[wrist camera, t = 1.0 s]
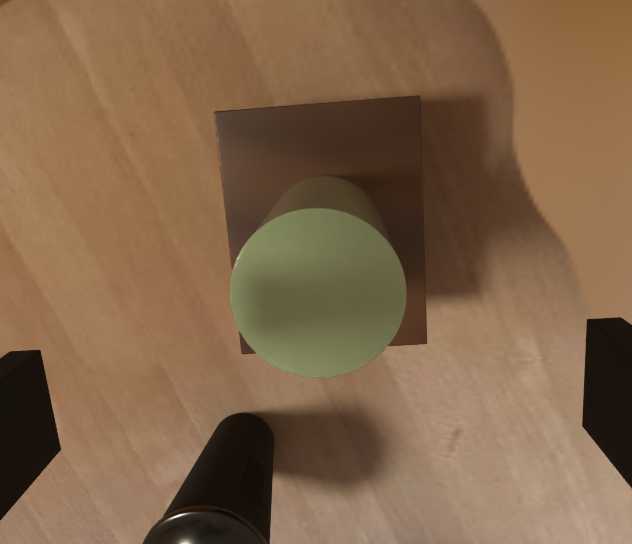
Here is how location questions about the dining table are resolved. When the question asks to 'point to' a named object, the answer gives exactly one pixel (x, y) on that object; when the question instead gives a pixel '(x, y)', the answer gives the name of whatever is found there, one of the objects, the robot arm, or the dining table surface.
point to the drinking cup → (224, 489)
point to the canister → (319, 281)
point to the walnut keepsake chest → (331, 160)
